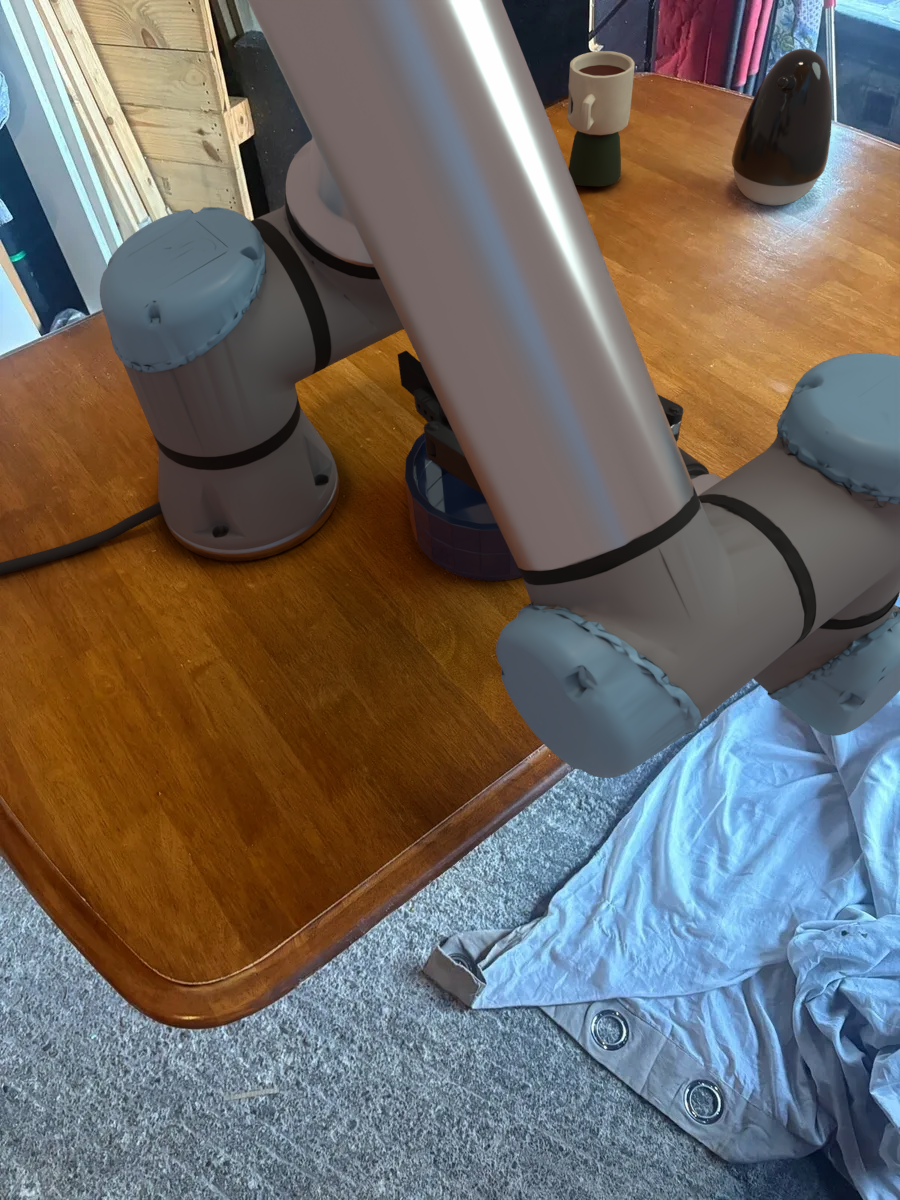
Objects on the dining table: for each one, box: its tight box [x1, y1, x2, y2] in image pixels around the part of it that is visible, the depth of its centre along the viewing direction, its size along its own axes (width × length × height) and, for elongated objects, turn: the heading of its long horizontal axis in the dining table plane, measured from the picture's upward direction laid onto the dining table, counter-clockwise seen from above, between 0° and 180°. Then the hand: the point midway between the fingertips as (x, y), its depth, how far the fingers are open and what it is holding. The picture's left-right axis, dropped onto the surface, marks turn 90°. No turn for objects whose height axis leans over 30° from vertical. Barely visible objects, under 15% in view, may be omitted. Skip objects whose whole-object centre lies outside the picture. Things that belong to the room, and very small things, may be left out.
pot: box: [404, 432, 522, 582], centre depth 72 cm, size 14×14×6 cm
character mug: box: [566, 50, 636, 187], centre depth 103 cm, size 11×7×13 cm, turn 156°
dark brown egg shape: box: [731, 48, 833, 206], centre depth 97 cm, size 10×10×15 cm
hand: (451, 345), depth 66 cm, fingers closed on canned tomato, 8 cm apart
